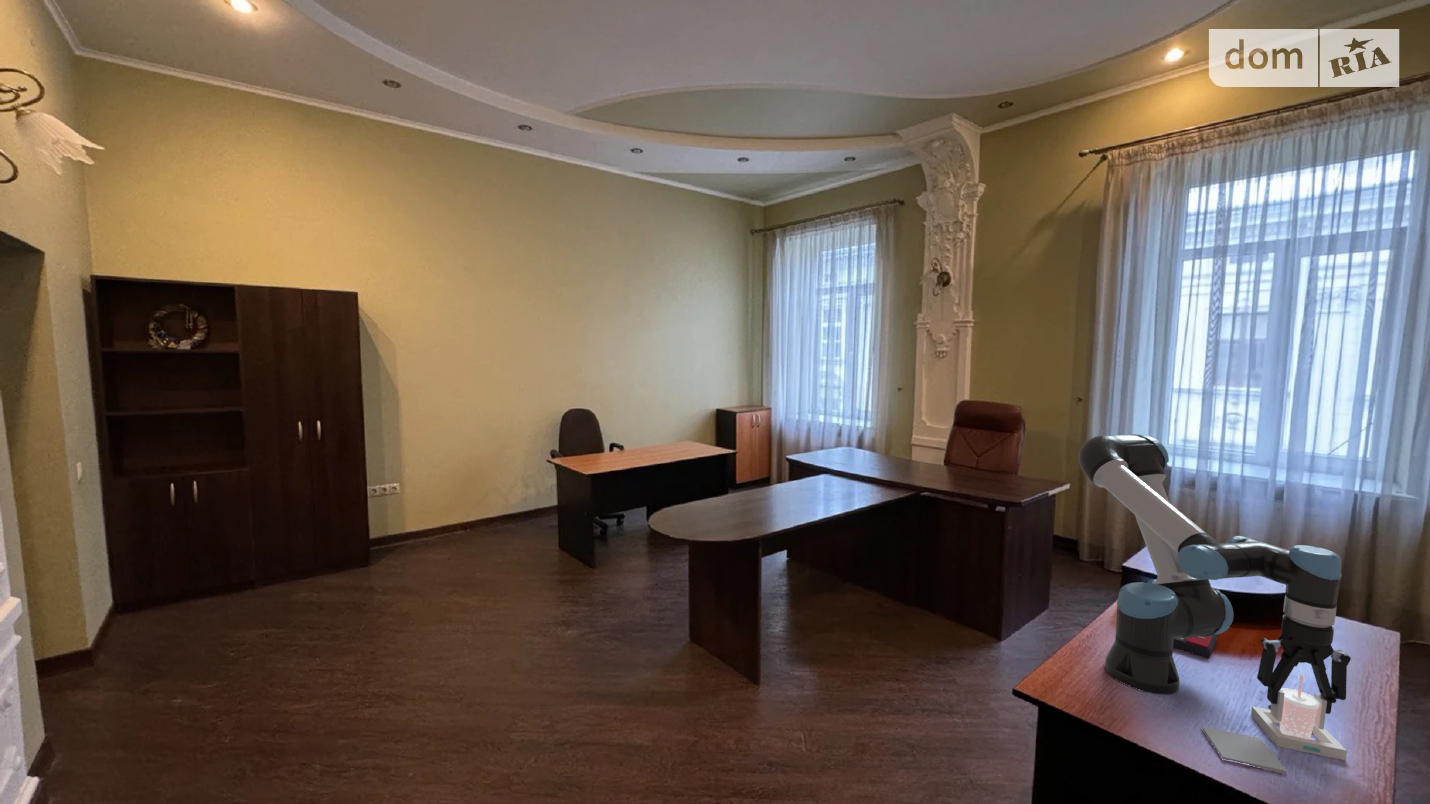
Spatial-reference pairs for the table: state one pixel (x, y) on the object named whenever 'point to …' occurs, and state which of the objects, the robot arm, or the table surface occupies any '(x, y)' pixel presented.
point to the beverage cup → (1298, 712)
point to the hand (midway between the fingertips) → (1296, 721)
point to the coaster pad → (1244, 749)
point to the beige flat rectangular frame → (1322, 747)
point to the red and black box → (1196, 645)
